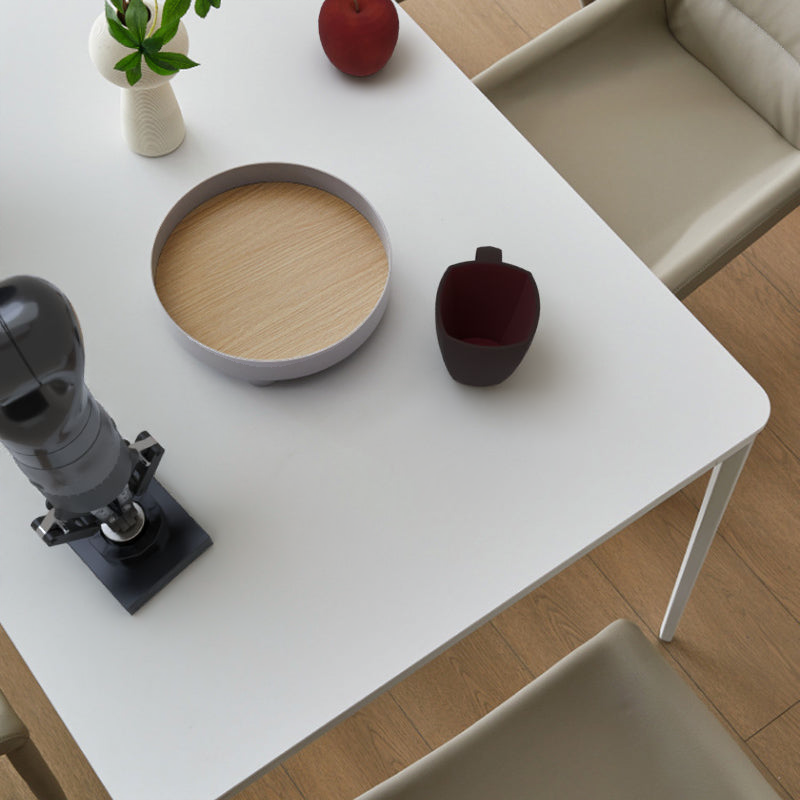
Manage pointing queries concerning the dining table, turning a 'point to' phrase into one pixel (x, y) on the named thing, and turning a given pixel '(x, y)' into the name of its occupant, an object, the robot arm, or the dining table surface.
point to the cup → (485, 318)
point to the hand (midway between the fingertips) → (123, 520)
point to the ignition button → (128, 530)
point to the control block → (146, 550)
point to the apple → (358, 34)
